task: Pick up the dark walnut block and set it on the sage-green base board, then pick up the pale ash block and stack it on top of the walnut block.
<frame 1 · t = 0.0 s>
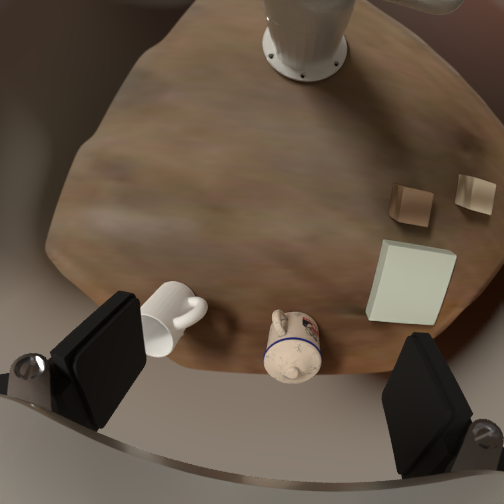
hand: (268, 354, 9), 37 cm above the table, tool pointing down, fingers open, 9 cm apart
walnut block: (404, 201, 41), on the table
base board: (408, 281, 45), on the table
ash block: (467, 191, 39), on the table
teacup with lid: (291, 324, 51), on the table
mug: (187, 298, 52), on the table
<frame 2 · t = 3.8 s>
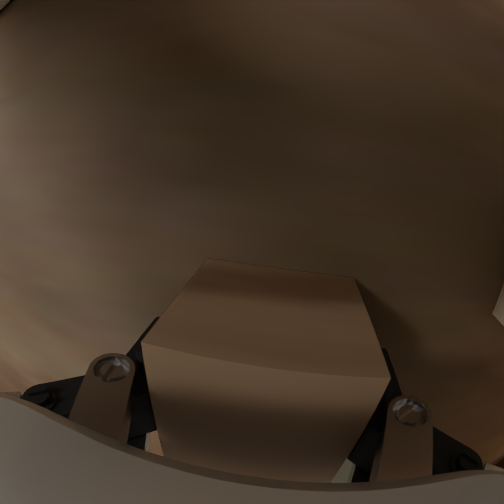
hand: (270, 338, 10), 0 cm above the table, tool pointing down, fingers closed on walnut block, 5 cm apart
walnut block: (272, 330, 11), on the table, touching gripper
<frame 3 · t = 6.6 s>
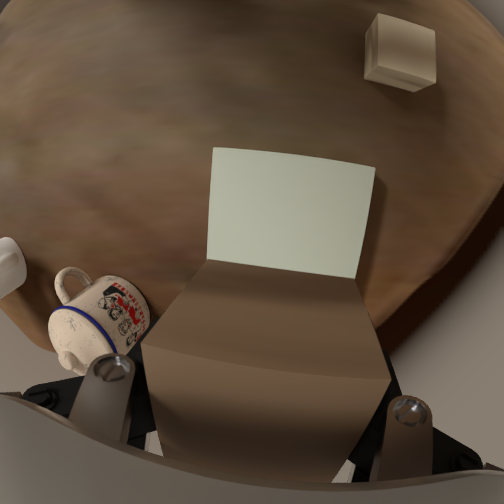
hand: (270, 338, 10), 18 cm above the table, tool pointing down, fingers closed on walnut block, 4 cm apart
walnut block: (272, 331, 11), point 17 cm above the table, touching gripper
base board: (286, 225, 27), on the table
ash block: (390, 62, 21), on the table
teacup with lid: (114, 296, 33), on the table
mug: (18, 258, 34), on the table
when the fingers open (5 cm above the table, at t = 9.4 s): walnut block drops 1 cm, resting on base board.
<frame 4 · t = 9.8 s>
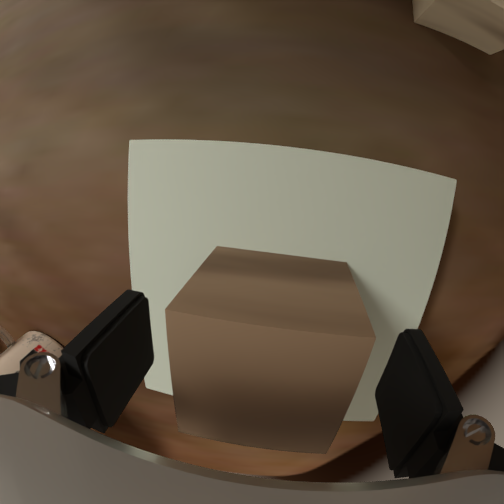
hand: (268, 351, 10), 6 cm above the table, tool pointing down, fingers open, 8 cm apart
walnut block: (274, 311, 12), point 3 cm above the table, touching base board
base board: (279, 282, 15), on the table
ash block: (450, 4, 8), on the table
teacup with lid: (48, 355, 21), on the table
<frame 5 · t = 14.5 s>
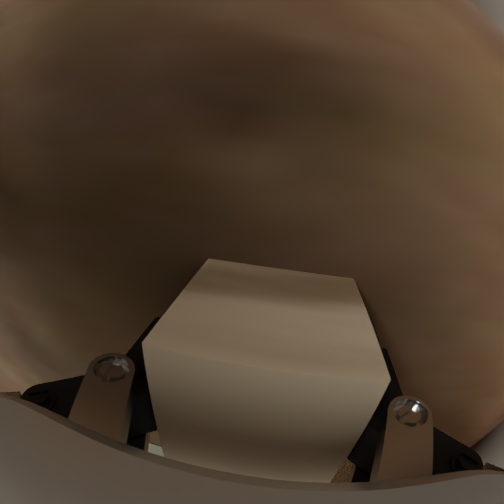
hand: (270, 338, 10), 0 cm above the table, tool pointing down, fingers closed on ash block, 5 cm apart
ash block: (272, 330, 11), on the table, touching gripper
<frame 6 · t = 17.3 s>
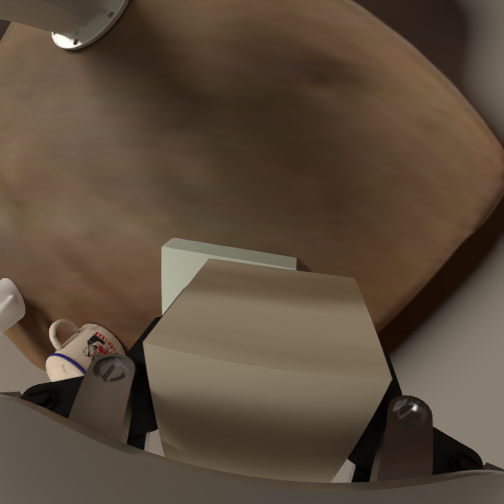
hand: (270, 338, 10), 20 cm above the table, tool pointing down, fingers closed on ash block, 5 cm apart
base board: (227, 302, 33), on the table
ash block: (272, 330, 11), point 19 cm above the table, touching gripper
teacup with lid: (98, 338, 38), on the table
mug: (18, 296, 39), on the table
when the fingers open (10 cm above the table, at t = 20.2 s): ash block drops 1 cm, resting on walnut block.
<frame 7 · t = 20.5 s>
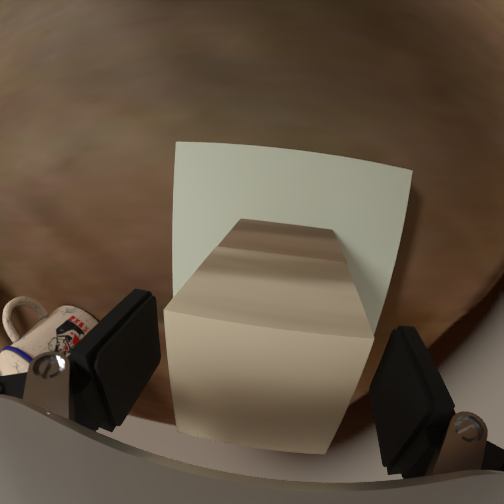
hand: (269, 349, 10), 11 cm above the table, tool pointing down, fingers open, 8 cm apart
walnut block: (281, 266, 17), point 3 cm above the table, touching ash block, base board
base board: (284, 250, 20), on the table
ash block: (273, 311, 12), point 8 cm above the table, touching walnut block
teacup with lid: (77, 328, 25), on the table
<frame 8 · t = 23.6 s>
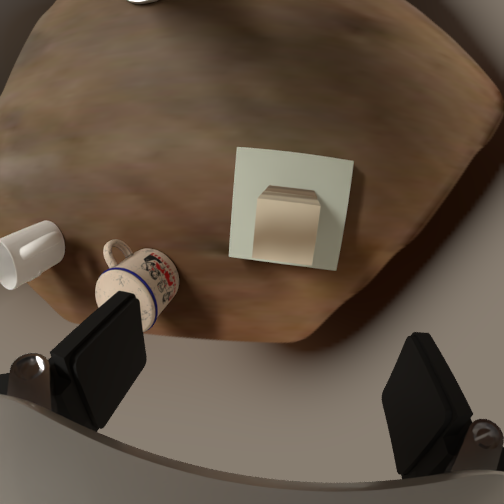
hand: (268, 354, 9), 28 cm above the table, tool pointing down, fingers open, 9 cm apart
walnut block: (289, 209, 33), point 3 cm above the table, touching ash block, base board
base board: (289, 205, 36), on the table
ash block: (287, 219, 28), point 8 cm above the table, touching walnut block
teacup with lid: (149, 266, 42), on the table
mug: (57, 239, 43), on the table
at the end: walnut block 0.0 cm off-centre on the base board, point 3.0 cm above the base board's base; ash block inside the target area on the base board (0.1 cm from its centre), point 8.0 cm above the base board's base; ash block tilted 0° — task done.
